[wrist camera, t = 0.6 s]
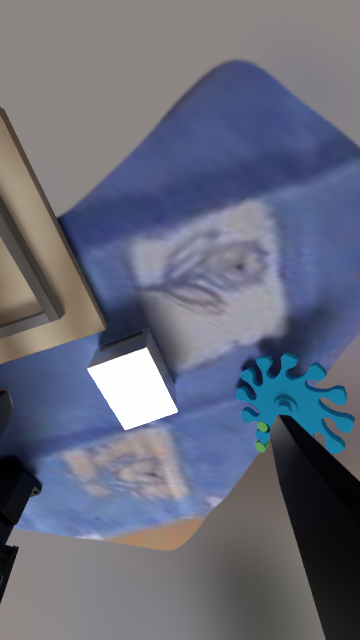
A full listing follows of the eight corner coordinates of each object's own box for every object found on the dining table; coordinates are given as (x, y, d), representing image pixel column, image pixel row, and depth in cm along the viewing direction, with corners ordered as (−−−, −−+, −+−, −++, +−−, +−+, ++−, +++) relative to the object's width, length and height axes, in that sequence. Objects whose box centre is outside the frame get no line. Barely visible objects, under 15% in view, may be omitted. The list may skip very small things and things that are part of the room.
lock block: (130, 400, 26) (126, 430, 22) (97, 343, 23) (86, 367, 19) (175, 384, 25) (178, 412, 22) (147, 324, 22) (145, 345, 19)
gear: (266, 333, 22) (386, 417, 17) (286, 323, 26) (386, 387, 22) (213, 412, 27) (295, 493, 22) (238, 392, 31) (310, 456, 27)
